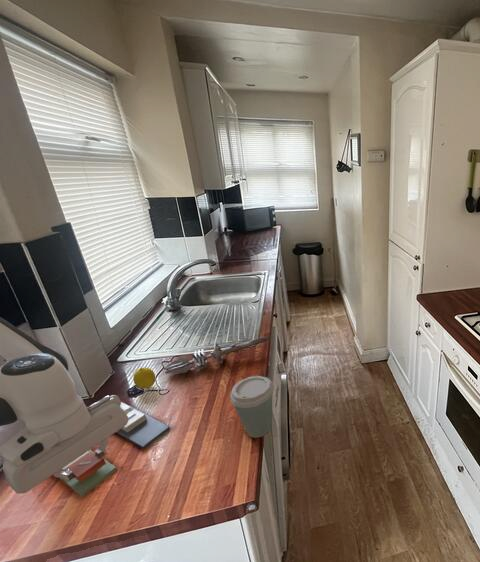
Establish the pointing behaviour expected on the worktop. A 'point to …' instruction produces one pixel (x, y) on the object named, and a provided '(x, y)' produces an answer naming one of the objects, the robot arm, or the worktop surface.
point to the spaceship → (184, 364)
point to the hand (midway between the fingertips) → (86, 466)
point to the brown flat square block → (86, 466)
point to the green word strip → (90, 481)
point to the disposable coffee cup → (254, 404)
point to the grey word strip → (141, 427)
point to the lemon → (144, 378)
